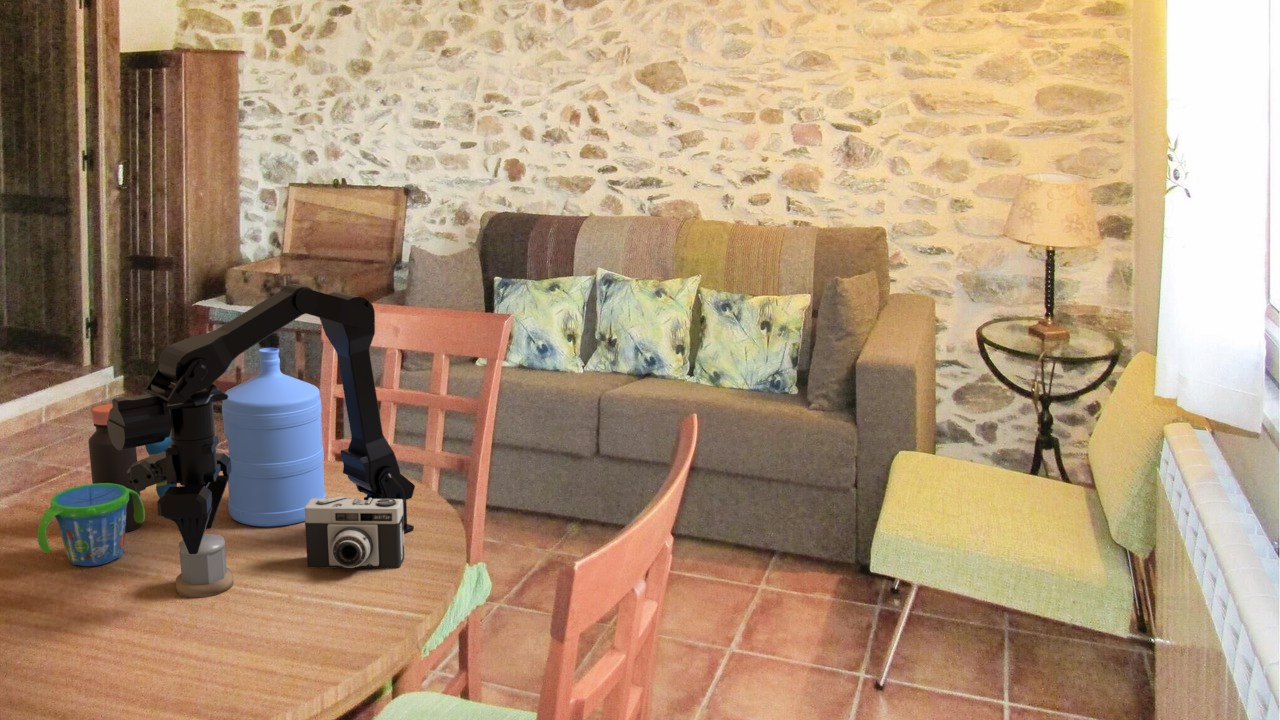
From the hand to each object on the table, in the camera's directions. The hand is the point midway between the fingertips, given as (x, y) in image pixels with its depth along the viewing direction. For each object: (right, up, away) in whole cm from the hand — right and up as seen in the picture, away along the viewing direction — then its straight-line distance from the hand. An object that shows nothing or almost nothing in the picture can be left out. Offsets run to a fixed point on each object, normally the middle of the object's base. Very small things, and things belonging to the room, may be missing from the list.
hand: (200, 540), depth 157 cm
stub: (0, -7, +2) cm, 7 cm away
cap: (0, -5, +1) cm, 6 cm away
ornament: (-18, 0, +31) cm, 35 cm away
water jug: (+1, 0, +31) cm, 31 cm away
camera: (+19, -6, +9) cm, 22 cm away
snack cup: (-20, -5, +11) cm, 23 cm away
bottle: (-22, -2, +23) cm, 32 cm away
